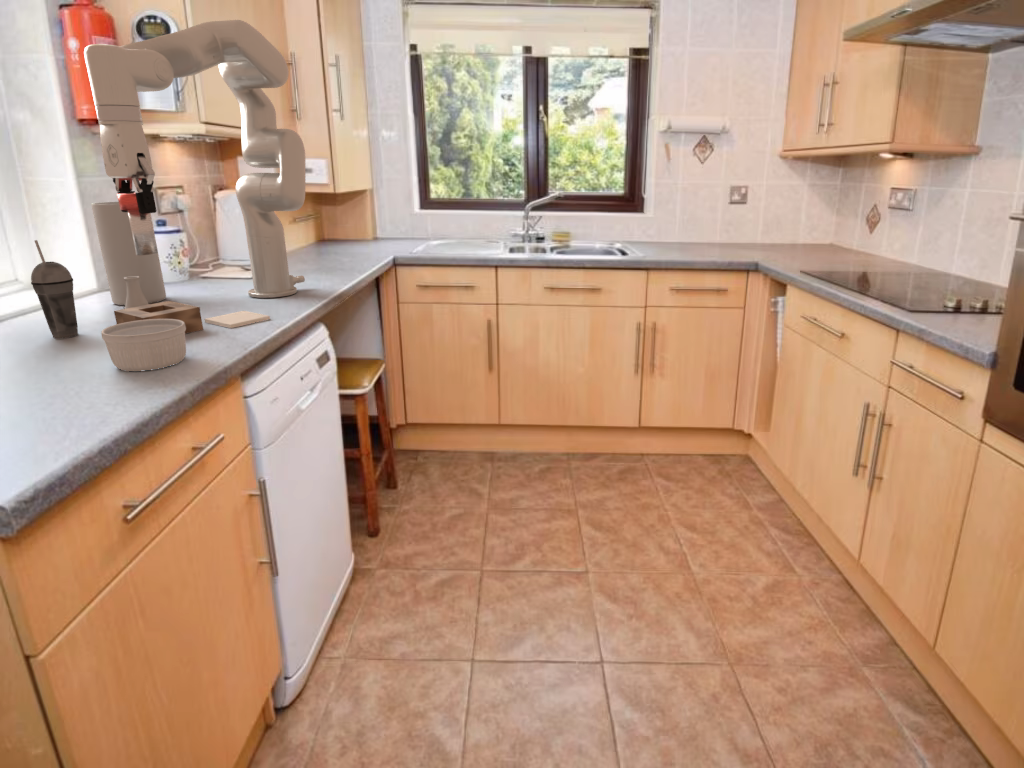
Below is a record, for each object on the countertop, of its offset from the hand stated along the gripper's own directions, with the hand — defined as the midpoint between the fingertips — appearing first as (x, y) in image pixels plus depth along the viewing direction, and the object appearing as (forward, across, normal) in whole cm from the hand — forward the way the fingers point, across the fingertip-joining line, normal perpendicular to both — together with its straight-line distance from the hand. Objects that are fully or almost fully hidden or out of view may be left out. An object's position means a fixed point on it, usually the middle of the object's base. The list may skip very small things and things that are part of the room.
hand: (139, 211), depth 131 cm
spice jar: (+8, 0, 0) cm, 8 cm away
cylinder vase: (+26, -37, +14) cm, 47 cm away
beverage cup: (+25, -14, -13) cm, 32 cm away
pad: (+25, +5, +15) cm, 30 cm away
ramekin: (+25, +21, -13) cm, 36 cm away
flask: (+25, -15, +3) cm, 30 cm away
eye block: (+25, 0, 0) cm, 25 cm away
